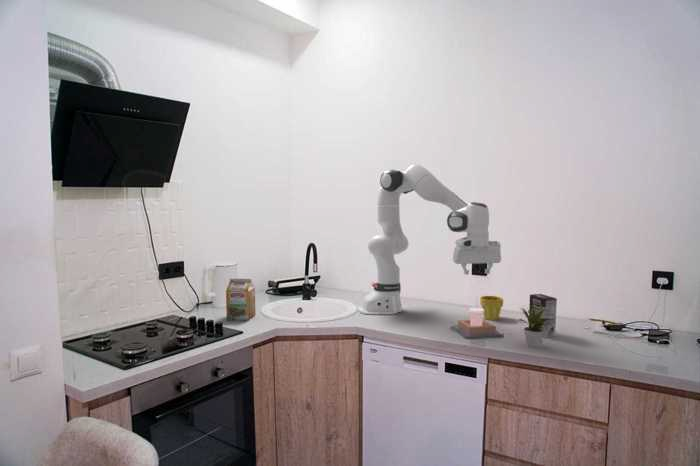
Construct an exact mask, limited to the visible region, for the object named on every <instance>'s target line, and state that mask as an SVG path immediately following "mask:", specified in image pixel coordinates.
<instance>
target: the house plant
mask: <svg viewBox="0 0 700 466" xmlns="http://www.w3.org/2000/svg"><path fill="white" fill-rule="evenodd" d="M535 306H536V304H535ZM535 306H534V309H533V308H532V307H531V308H532V313H531V312H530V311H529V308H528V307H526V306H525V308H526V309H527V310H528V311H527V310H526V309H525V308H524V306H521V307H520V308H519V310H521V312H522V313H523V314H524V315H525V317H526V318H527V321H525V320H524V319H523V318H522V319H521V318H519V319H518V320H517V321H518V322H523V323H524V324H527V326H526V327H524V329H523V330H524V335H525V336H524V337H525V344H527V345H528V347H530V346H531V348H541V345H542V343H543V342H542V341H543V338H544V337H543V333H544V330H543V329H541V328H540V327H541V326H542V325H544V326H547V325H546V324H549V323H546V324H544V323H543V322H545V321H547V320H552V319H548V318H540V316H541V314H542V313H543V311H544V309H545V308H546V307H544V308H543V307H542V308H541V309H540V310H538V312H539V313H538V312H537V313H538V314H537V313H536V315H537V316H536V315H535ZM549 312H551V311H549ZM547 313H548V312H547ZM529 314H530V316H529ZM545 314H546V313H545ZM545 314H544V315H545ZM542 316H543V315H542ZM539 318H540V319H539ZM541 319H542V320H541ZM538 320H540V321H539V322H538ZM537 322H538V323H537ZM542 323H543V324H542ZM529 325H530V327H529ZM549 325H550V324H549ZM550 326H551V325H550ZM527 345H526V346H527Z"/></svg>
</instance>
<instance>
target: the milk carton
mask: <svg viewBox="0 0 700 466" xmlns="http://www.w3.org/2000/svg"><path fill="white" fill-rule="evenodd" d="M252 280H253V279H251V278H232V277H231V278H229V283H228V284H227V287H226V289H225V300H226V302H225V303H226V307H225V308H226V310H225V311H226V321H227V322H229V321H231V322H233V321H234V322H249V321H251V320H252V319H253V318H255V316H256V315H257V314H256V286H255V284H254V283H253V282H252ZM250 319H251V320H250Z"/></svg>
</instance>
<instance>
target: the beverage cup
mask: <svg viewBox="0 0 700 466" xmlns="http://www.w3.org/2000/svg"><path fill="white" fill-rule="evenodd" d="M475 299H476V300H475V301H476V302H475V307H470V308H469V309H468V311H469V320H470V325H471V326H482V322H483V319H484V315H483V312H484V309H482V307H478V296H477V297H476V298H475Z"/></svg>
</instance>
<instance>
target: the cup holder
mask: <svg viewBox="0 0 700 466" xmlns="http://www.w3.org/2000/svg"><path fill="white" fill-rule="evenodd" d="M450 328H451V329H452V330H453V331H455V332H456V333H458V334H459V335H460V336H462V337H463V338H464V339H466V340H469V339H470V340H473V339H488V338H489V339H490V338H491V339H493V338H502V337H503V338H504V334H503V333H501V332H500V331H498V330H497V329H496V328H497V326H496V325H494V324H493V323H491V322H490V321H487V319H485V318H483V322H482V326H471V325H470V319H458V320H457V325H456V324H455V325H450Z"/></svg>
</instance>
